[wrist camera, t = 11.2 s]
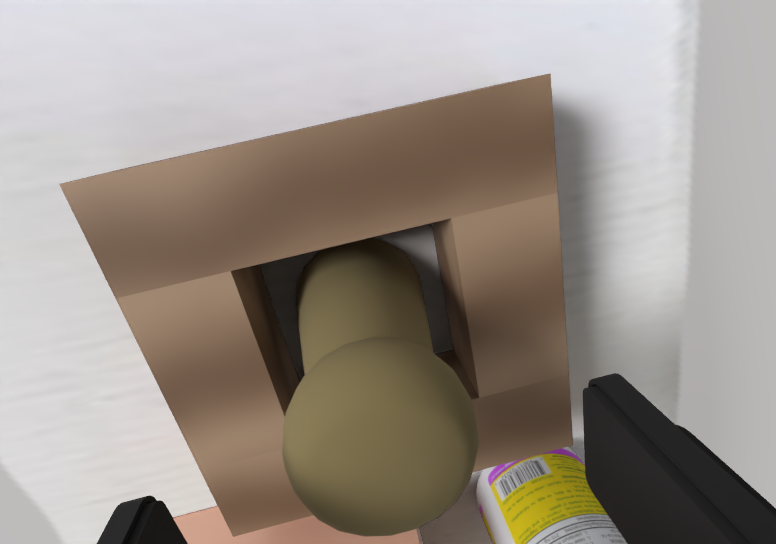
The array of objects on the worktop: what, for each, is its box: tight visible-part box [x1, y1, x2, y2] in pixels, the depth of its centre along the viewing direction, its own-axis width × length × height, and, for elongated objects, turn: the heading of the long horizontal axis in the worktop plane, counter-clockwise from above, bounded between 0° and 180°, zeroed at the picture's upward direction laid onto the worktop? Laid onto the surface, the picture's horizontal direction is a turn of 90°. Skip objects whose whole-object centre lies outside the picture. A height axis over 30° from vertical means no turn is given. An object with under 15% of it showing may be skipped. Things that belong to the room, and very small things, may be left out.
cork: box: [282, 238, 479, 537], centre depth 15 cm, size 6×6×11 cm
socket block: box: [60, 74, 573, 537], centre depth 18 cm, size 16×16×4 cm
